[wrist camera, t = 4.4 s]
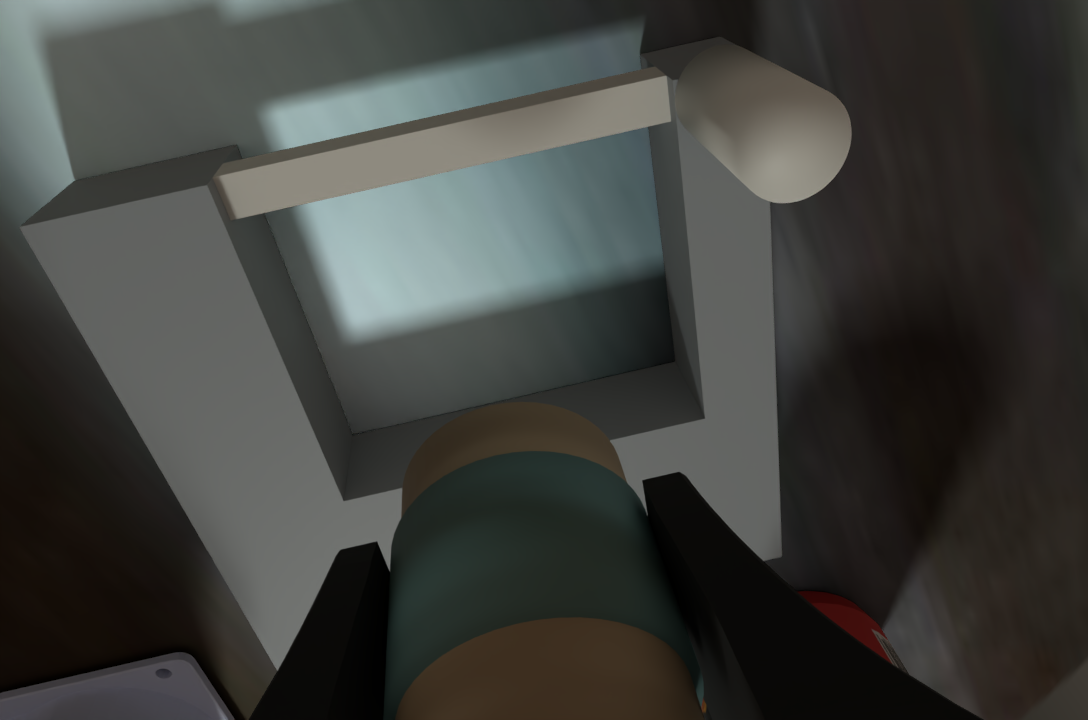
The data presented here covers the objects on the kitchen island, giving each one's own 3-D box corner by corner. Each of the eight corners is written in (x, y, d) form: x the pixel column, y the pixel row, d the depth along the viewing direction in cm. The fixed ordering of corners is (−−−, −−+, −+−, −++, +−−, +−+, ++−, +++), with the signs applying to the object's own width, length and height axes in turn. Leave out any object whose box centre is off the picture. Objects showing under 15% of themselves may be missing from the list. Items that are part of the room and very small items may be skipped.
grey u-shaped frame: (292, 598, 27) (254, 800, 21) (63, 161, 19) (-108, 290, 13) (748, 493, 27) (839, 664, 21) (718, 14, 19) (853, 74, 13)
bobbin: (430, 596, 15) (434, 951, 10) (361, 427, 13) (323, 781, 8) (643, 546, 15) (749, 876, 10) (612, 369, 13) (731, 684, 8)
